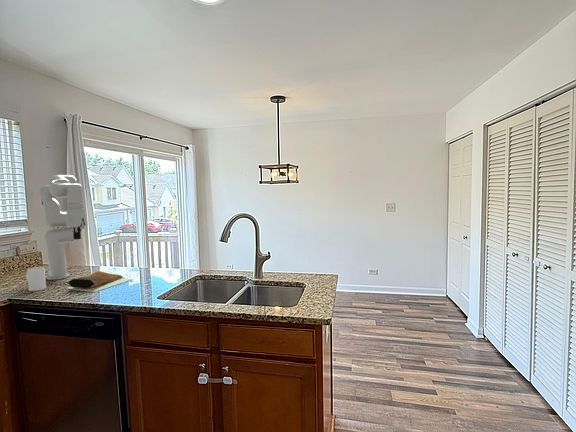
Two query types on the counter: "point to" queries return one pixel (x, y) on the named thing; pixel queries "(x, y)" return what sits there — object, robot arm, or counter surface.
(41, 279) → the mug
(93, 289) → the silicone mat
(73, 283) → the pancake mix bag
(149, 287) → the counter surface
